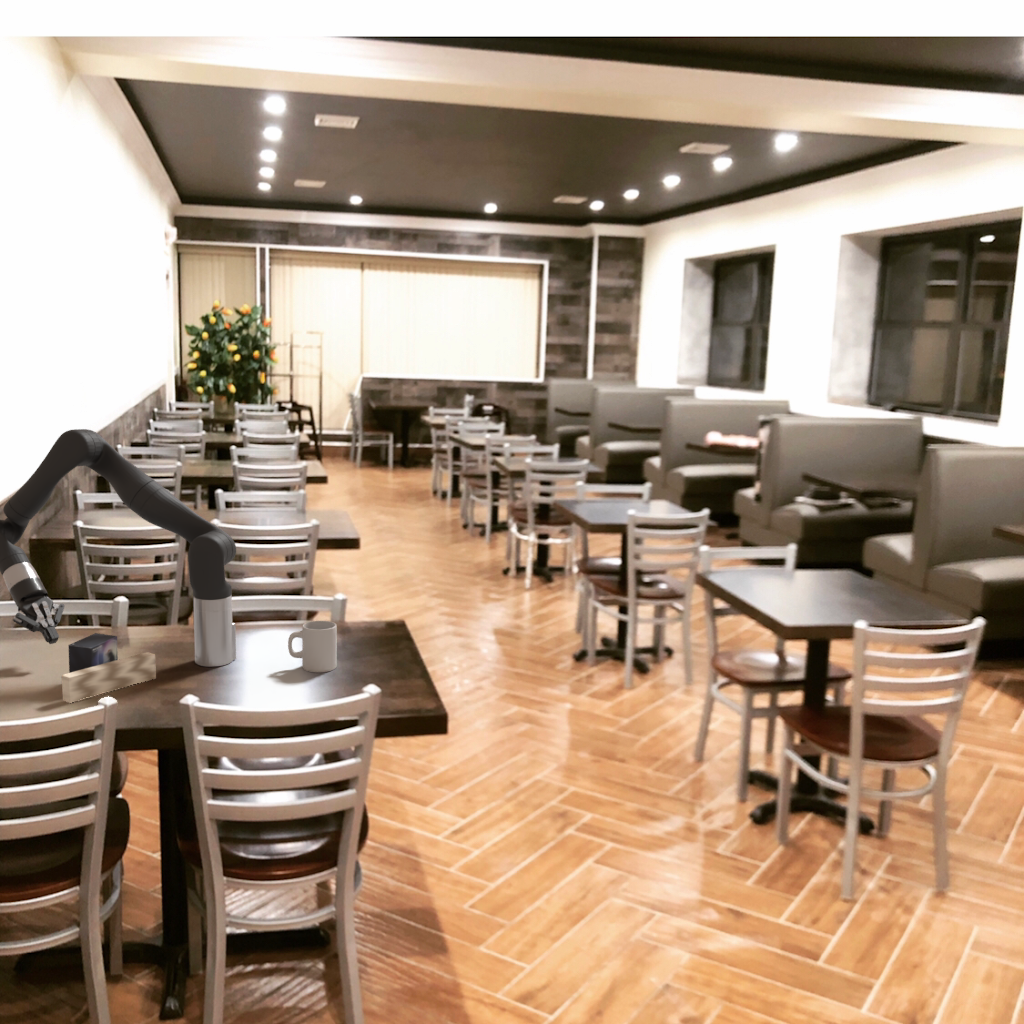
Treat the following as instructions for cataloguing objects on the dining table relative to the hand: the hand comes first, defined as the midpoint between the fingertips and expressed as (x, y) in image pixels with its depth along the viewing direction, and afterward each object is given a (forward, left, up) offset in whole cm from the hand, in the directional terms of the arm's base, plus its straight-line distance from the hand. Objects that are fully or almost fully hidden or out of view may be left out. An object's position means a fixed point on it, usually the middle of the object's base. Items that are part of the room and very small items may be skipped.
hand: (54, 641), depth 246 cm
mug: (-41, +47, -7) cm, 63 cm away
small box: (0, +16, -7) cm, 18 cm away
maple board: (0, +23, -7) cm, 24 cm away
